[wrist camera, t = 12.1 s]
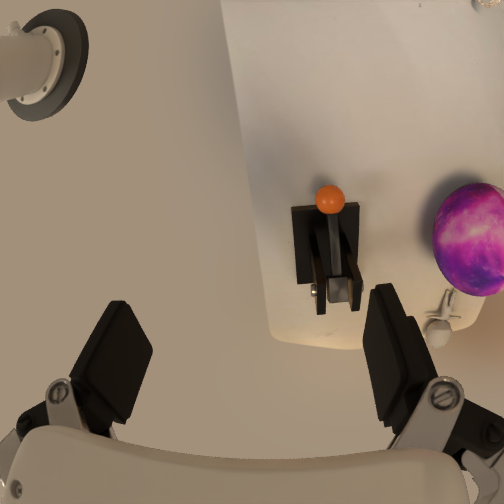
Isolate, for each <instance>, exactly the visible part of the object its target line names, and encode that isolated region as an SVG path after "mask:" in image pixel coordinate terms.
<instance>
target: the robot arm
mask: <svg viewBox="0 0 504 504" xmlns="http://www.w3.org/2000/svg"><path fill="white" fill-rule="evenodd" d="M7 29H8V32H9V34H10V36H0V102H3V101H7V100H11V99H15V98H16V99H17V100H18V101H19V102H20V103H22V104H26V105H29V104H34V103H38V102H40V101H41V100H43V99H44V98H45V97H47V96H48V95H49V93H50V92H51V91H52V90H53V88H54V87H55V85H56V83H57V81H58V79H59V77H60V75H61V72H62V69H63V64H64V58H65V45H64V40H63V37H62V35H61V33H60V32H59V31H58V30H57V29H56V28H54V27H51V26H40V27H37V28H35V29H33V30H32V31H30V32H29V33H25V32H24V31H23V30H21V29H20V26H19V24H18V22H17V21H14V22H12V23H11V24H9V26H8V28H7ZM363 348H364V352H365V356H366V360H367V365H368V369H369V374H370V379H371V383H372V388H373V393H374V398H375V404H376V409H377V414H378V419H379V421H383V422H384V427H389V426H392V430H393V433H394V434H395V436H394V437H393V439H392V441H391V442H390V444H389V445H388V447H387V449H386V450H379V451H371V452H363V453H355V454H348V455H339V456H330V457H316V458H301V459H236V458H220V457H209V456H200V455H192V454H184V453H177V452H171V451H165V450H160V449H154V448H149V447H144V446H139V445H135V444H130V443H126V442H122V441H118V439H117V437H116V435H115V433H114V430H113V427H112V422H113V421H114V422H116V423H120V424H125V423H126V420H127V419H128V418H130V416H131V413H132V410H133V407H134V404H135V401H136V398H137V395H138V392H139V390H140V387H141V384H142V381H143V378H144V376H145V373H146V370H147V367H148V364H149V361H150V359H151V356H152V353H153V348H152V345H151V344H150V342H149V340H148V338H147V337H146V335H145V333H144V331H143V330H142V328H141V326H140V324H139V322H138V320H137V318H136V317H135V315H134V313H133V311H132V309H131V307H130V305H129V304H127V303H126V302H125V301H111V302H110V303H109V305H108V306H107V308H106V310H105V311H104V313H103V315H102V316H101V318H100V320H99V321H98V323H97V325H96V327H95V328H94V330H93V332H92V334H91V335H90V337H89V339H88V341H87V343H86V344H85V346H84V348H83V350H82V352H81V354H80V355H79V357H78V359H77V361H76V363H75V365H74V367H73V369H72V371H71V373H70V375H69V377H70V378H71V381H70V382H69V381H68V380H67V379H64V378H60V379H57V380H55V381H54V382H52V383H51V384H50V386H49V388H48V389H47V391H46V398H45V399H46V400H45V401H43V402H42V403H40V404H38V405H36V406H34V407H32V408H31V409H29V410H27V411H25V412H24V413H23V414H21V416H20V417H19V419H18V421H17V425H16V429H17V430H16V429H15V428H14V429H13V430H12V431H11V432H10V433H9V434H8V435H7V436H6V437H5V438H4V439H3V440H2V441H1V442H0V479H1V482H2V484H3V486H4V488H5V489H4V493H3V497H2V501H1V504H470V502H469V496H468V491H467V487H466V483H465V480H464V476H463V474H462V471H461V470H464V471H467V470H468V471H469V472H470V473H471V475H472V476H473V478H472V479H473V480H474V481H475V483H476V484H477V486H478V488H479V494H478V497H477V500H476V501H475V502H474V504H504V418H502V417H501V416H499V415H497V414H495V413H493V412H491V411H489V410H487V409H485V408H483V407H481V406H479V405H477V404H475V403H473V402H471V401H469V400H467V399H465V398H464V390H463V388H462V386H461V384H460V383H459V382H458V381H457V380H455V379H454V378H452V377H448V376H440V377H438V375H437V372H436V369H435V366H434V364H433V361H432V359H431V356H430V353H429V351H428V348H427V346H426V343H425V341H424V338H423V336H422V334H421V331H420V329H419V327H418V324H417V322H416V320H415V318H414V317H413V316H406V314H405V311H404V309H403V307H402V304H401V302H400V300H399V298H398V295H397V293H396V291H395V289H394V287H393V285H392V284H391V283H386V284H378V285H376V286H375V289H371V291H370V298H369V305H368V311H367V317H366V323H365V329H364V334H363Z"/></svg>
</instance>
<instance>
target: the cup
mask: <svg viewBox="0 0 504 504" xmlns="http://www.w3.org/2000/svg"><path fill="white" fill-rule="evenodd" d="M477 1H478V2H479V3H480V4H482V5H484V6H485V7H493V6H495V5H497V4H499V2H500V1H501V0H492V1H491V2H489V3H486V4H485V3H483V2H482V1H481V0H477Z"/></svg>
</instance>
